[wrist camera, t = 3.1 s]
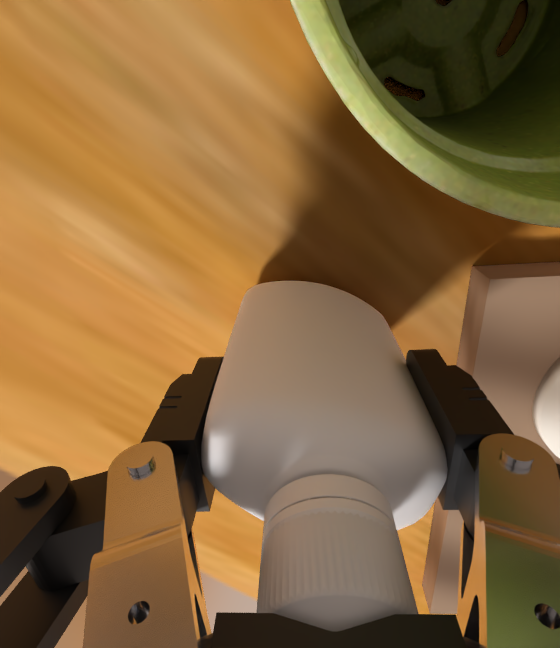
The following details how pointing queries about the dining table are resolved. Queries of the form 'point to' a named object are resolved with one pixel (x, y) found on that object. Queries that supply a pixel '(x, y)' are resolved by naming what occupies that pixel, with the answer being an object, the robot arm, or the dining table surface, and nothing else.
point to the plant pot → (453, 93)
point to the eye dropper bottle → (323, 452)
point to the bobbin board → (503, 385)
